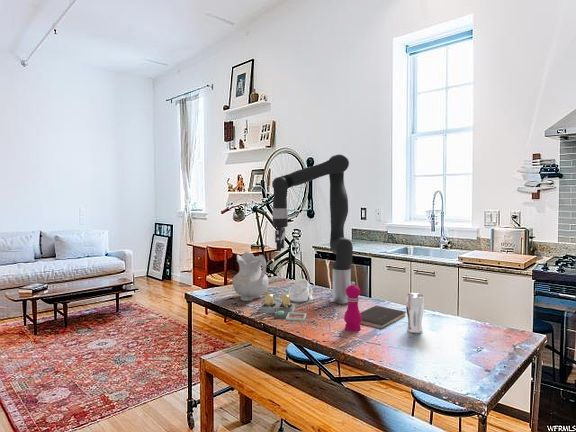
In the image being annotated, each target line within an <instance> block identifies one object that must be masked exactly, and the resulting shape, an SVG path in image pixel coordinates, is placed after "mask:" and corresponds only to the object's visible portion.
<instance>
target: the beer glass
mask: <svg viewBox="0 0 576 432" xmlns="http://www.w3.org/2000/svg"><path fill="white" fill-rule="evenodd" d="M424 298H425V295H424V294H422V293H418V292H417V293H416V292H409V293H407V294H406V301H405V302H406V303H405V306H406V309H405V310H406V315H407V328H406V331H407V332H408V333H410V334H422V333H423V325H422V323H423V318H424V317H423V316H424V312H425V311H424V310H425V300H424Z"/></svg>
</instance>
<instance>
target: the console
mask: <svg viewBox="0 0 576 432" xmlns="http://www.w3.org/2000/svg"><path fill="white" fill-rule="evenodd" d="M287 315H288V313H287V312H284V315H278V312H276V313H274V317H273V318H274V319H280V320H281V319H283V320H284V319H285V320H286V317H287Z"/></svg>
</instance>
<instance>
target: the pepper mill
mask: <svg viewBox="0 0 576 432" xmlns="http://www.w3.org/2000/svg"><path fill="white" fill-rule="evenodd" d="M346 294H347V301H348V303H347V308H346V311H345V313H344V315H343V320H344V322H345V325H344V326H345V330H346V331H349V332H359V331H361V328H362V327H361V323H360V322H361V321H362V317H361V314H360V313H361V311H360V309H359V301H360V297H359V296H360V295H361V289H360V287H358V285H356V282H355V281H351V285H350V286H348V287H347V288H346Z"/></svg>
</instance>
